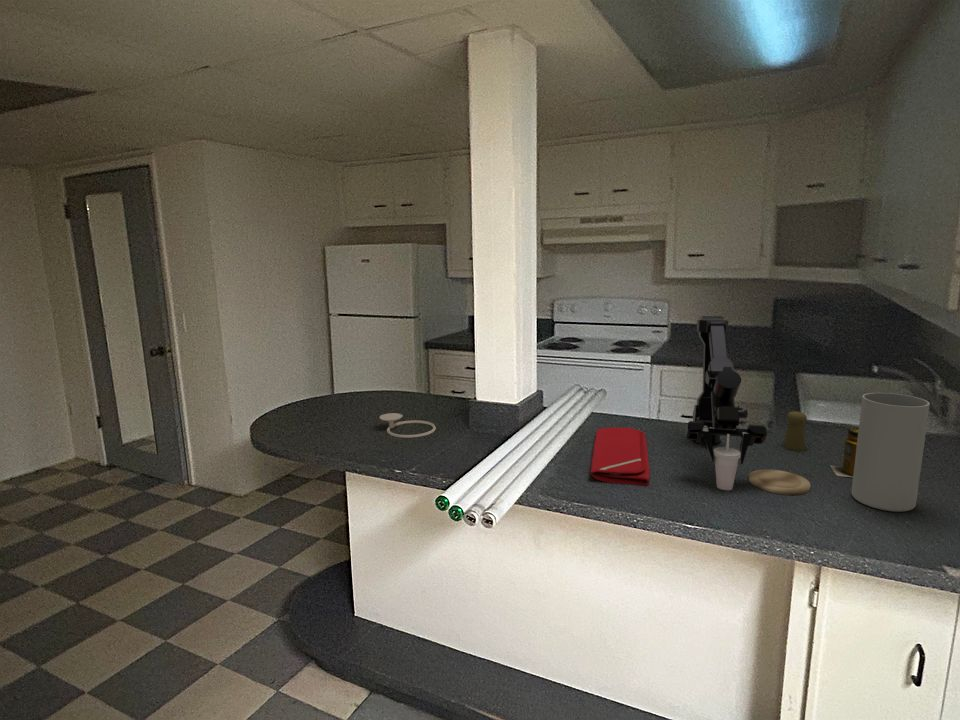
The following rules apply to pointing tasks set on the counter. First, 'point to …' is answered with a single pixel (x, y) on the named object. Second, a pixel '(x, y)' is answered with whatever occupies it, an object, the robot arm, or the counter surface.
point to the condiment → (848, 455)
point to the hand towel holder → (395, 416)
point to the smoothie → (726, 465)
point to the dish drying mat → (620, 456)
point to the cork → (795, 431)
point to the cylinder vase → (889, 451)
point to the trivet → (779, 482)
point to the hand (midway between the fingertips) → (727, 462)
